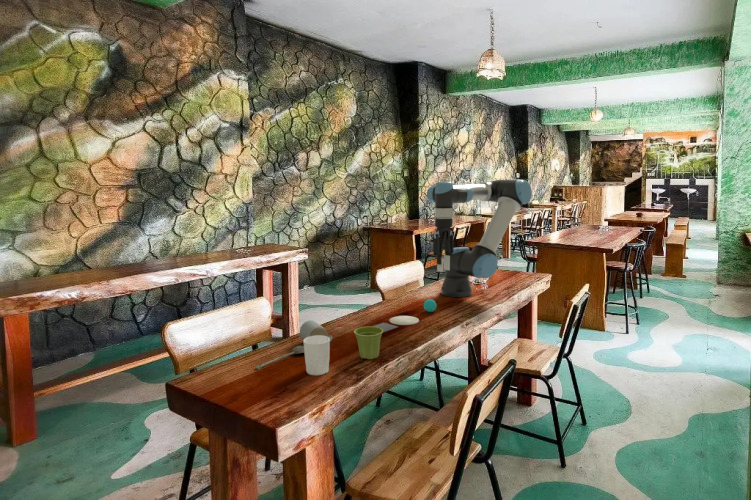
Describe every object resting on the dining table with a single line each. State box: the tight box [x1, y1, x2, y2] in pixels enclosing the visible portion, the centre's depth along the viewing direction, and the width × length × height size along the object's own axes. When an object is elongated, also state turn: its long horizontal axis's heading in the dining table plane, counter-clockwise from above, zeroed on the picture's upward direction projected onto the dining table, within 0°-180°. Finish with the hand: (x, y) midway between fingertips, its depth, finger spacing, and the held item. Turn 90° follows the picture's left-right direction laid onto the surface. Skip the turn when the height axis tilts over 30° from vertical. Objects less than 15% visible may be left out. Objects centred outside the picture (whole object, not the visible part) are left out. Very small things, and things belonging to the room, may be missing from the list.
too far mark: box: [371, 322, 399, 333], centre depth 185 cm, size 8×8×1 cm
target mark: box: [388, 315, 420, 326], centre depth 193 cm, size 12×12×1 cm
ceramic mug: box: [299, 320, 333, 342], centre depth 169 cm, size 11×8×8 cm
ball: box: [423, 298, 438, 313], centre depth 205 cm, size 6×6×6 cm
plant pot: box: [353, 326, 384, 360], centre depth 155 cm, size 9×9×9 cm
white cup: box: [302, 335, 331, 376], centre depth 144 cm, size 8×8×10 cm
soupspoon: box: [255, 345, 304, 370], centre depth 155 cm, size 22×3×7 cm
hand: (443, 270), depth 210 cm, fingers open, 4 cm apart
